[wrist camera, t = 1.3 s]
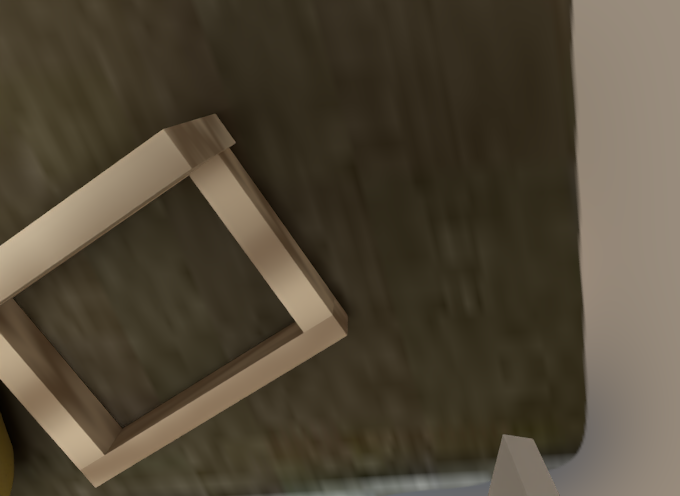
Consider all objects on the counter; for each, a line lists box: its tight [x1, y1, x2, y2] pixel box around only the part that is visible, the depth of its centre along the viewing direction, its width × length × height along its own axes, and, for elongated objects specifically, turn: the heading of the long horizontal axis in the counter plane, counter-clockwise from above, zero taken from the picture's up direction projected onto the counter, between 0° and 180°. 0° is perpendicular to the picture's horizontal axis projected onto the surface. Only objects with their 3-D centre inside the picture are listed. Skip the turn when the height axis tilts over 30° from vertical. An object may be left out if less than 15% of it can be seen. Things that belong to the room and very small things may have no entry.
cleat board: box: [0, 114, 348, 488], centre depth 35 cm, size 14×20×10 cm
